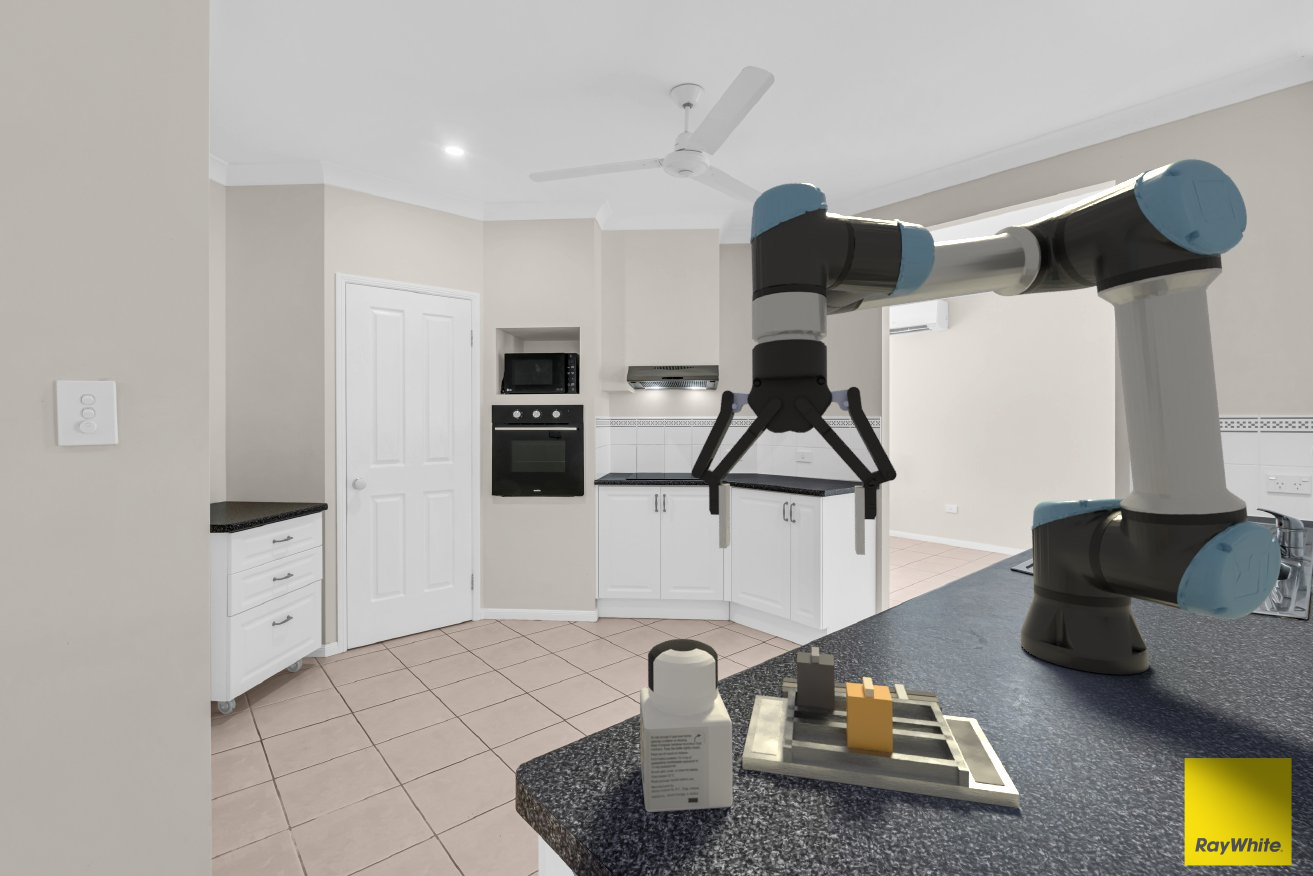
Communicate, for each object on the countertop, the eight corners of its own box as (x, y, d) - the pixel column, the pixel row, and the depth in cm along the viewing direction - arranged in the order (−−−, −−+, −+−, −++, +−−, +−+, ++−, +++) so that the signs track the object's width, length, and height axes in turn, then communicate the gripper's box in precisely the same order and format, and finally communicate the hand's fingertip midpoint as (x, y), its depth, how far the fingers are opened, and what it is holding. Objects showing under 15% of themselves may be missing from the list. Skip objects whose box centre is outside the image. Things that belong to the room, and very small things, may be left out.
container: (640, 764, 57) (639, 634, 57) (716, 760, 58) (715, 631, 58) (645, 814, 49) (644, 663, 49) (733, 809, 50) (732, 660, 50)
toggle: (833, 707, 66) (833, 648, 66) (834, 720, 63) (834, 658, 63) (798, 703, 67) (797, 645, 67) (797, 716, 64) (796, 655, 64)
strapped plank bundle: (933, 700, 70) (933, 687, 70) (942, 719, 65) (942, 705, 65) (784, 685, 75) (784, 673, 75) (782, 702, 70) (782, 689, 70)
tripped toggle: (888, 746, 57) (887, 678, 57) (893, 764, 54) (892, 692, 54) (846, 741, 58) (846, 674, 58) (848, 758, 55) (847, 687, 55)
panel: (975, 729, 63) (975, 706, 63) (1019, 808, 50) (1019, 778, 50) (756, 705, 70) (756, 683, 70) (742, 768, 56) (742, 742, 56)
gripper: (913, 342, 59) (915, 548, 59) (680, 353, 66) (681, 538, 66) (927, 329, 52) (929, 562, 52) (663, 343, 59) (664, 549, 59)
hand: (790, 549), depth 59 cm, fingers open, 13 cm apart
